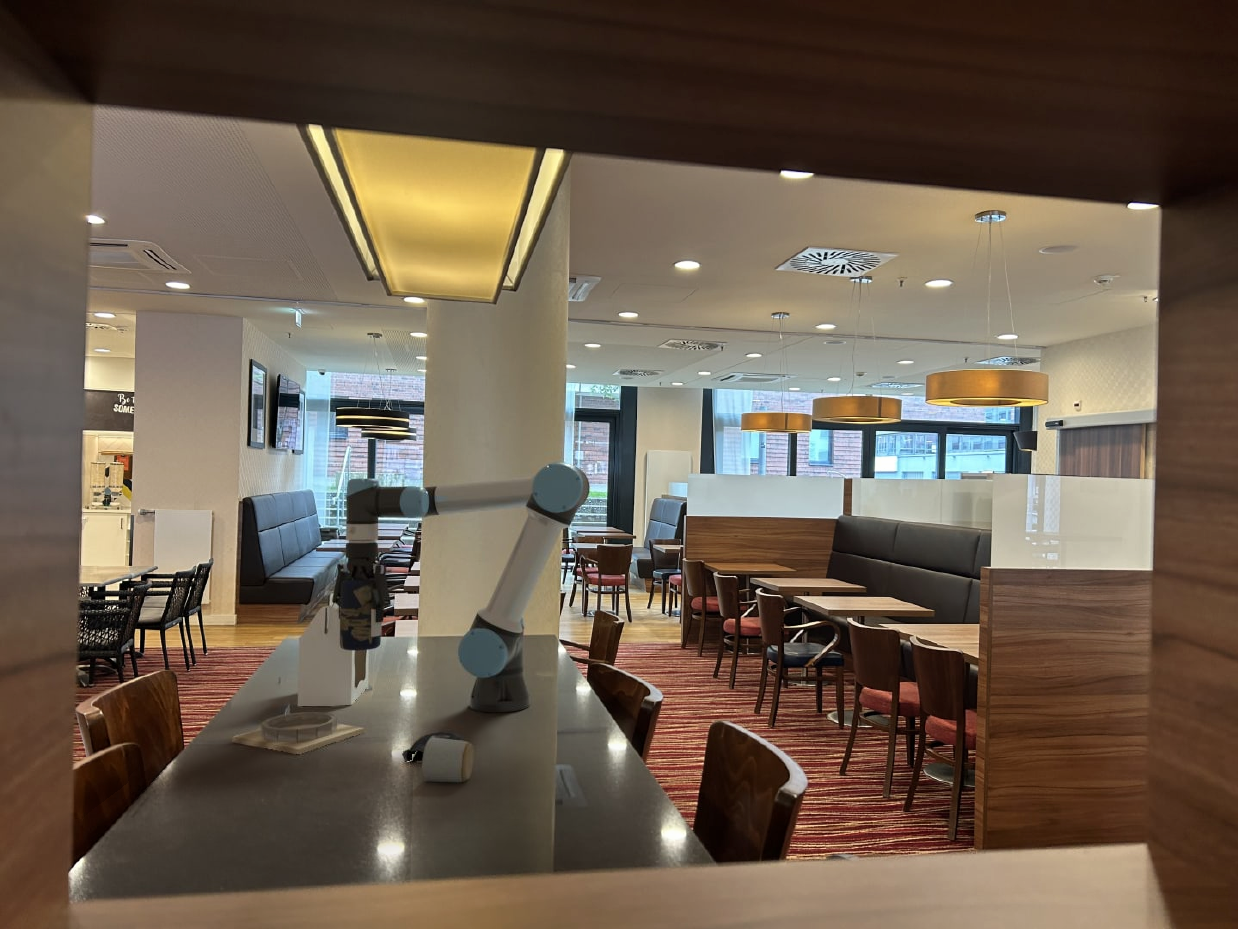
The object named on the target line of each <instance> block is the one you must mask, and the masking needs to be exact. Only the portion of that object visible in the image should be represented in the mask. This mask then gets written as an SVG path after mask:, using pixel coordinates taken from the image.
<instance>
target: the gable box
mask: <svg viewBox="0 0 1238 929" xmlns="http://www.w3.org/2000/svg"><path fill="white" fill-rule="evenodd" d="M333 593H334V591H333V592H330V593H329V594H328V596H327V605H324V606H322V607H321V608H319V610H318V611H317V612H316V614H315V615H314V617H313V618H312V620H311V621H310V623H309V624H308V626H307V627H306V628H305V630H304V631H303V633H302V634H301V636H299V638H298V664H297V665H298V666H297V668H298V671H297V672H298V674H297V675H298V676H297V677H298V678H297V707H298V706H331V707H336V706H335V705H351V706H353V704H354V703H355V702H356V701H357V700H358V699H359V698H358V697H360V696H362V694H363V693H364V692H366V690H367V689H368V688H369V658H370V656H369V654H370V650H359V651H358V650H356V651H353V650H344V649H342V648H341V647H340V619H339V606H338V605H337V604H336V603H333V602H332V598H333ZM338 598H339V597H338ZM355 687H356V689H355ZM367 687H368V688H367ZM366 688H367V689H366ZM365 689H366V690H365ZM361 693H362V694H361ZM356 699H357V700H356ZM355 700H356V701H355ZM333 705H334V706H333Z"/></svg>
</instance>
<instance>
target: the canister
mask: <svg viewBox="0 0 1238 929" xmlns="http://www.w3.org/2000/svg"><path fill="white" fill-rule="evenodd" d="M370 579H371V578H370ZM371 589H373V590H377V586H376V580H375V579H374V580H355V579H351V580H348V579H346V580H343V581H342V583H341V609H340V647H341V648H342V649H344V650H353V651H356V650H358V651H359V650H369V651H370V650H373V649H376V648H377V649H378V648H379V647H380V645H381V640H382V639H381V636H382V634H381V635H380V636H375V637H371V609H372V608H373V607H374V605H373V603H372V600H371Z"/></svg>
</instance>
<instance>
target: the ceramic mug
mask: <svg viewBox="0 0 1238 929" xmlns="http://www.w3.org/2000/svg"><path fill="white" fill-rule="evenodd" d="M421 761H422V763H421V773H422V779H423V780H424V781H425V782H434V783H435V782H437V783H440V782H441V783H442V782H443V783H464V782H467V781H468V780H469V779H470V778H471V775H472V773H473V772H472V771H473V767H474V764H475V763H474V761H475V749H474V746H473V744H472V743H471V742H469V741H464V740H463V741H461V740H451V739H443V738H435V737H431V738H430V739H429V740H428V742H427V744H426V746H425V750H424V752H422V760H421ZM466 780H467V781H466Z"/></svg>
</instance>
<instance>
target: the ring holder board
mask: <svg viewBox="0 0 1238 929" xmlns="http://www.w3.org/2000/svg"><path fill="white" fill-rule="evenodd" d="M260 724H261V727H260V728H257V729H255V730H251V731H248V732H244V733H240V734H237V735H233V736H232V743H234V742H235V744H238V745H239V744H241V745H245V746H251V747H257V748H262V749H265V748H268V749H267V750H270V749H273V750H272V751H276V750H277V751H276V752H281V751H283V752H282V753H286V752H287V754H291V753H292V754H291V755H296V754H300V755H303V754H306V753H309V752H312V751H314V750H313V749H315V748H318V749H321V748H323V747H322V746H324V747H326V746H325V745H327V744H330V743H333V742H336V743H339V742H342V741H345V740H347V739H346V738H348V739H350V738H349V737H351V736H354V737H357V736H360V735H362V733H363V734H364V732H365V727H360V726H354V725H348V724H342V723H338V717H337V716H336V715H334V713H333V714H332V713H328V712H322V711H302V712H293V713H284V714H281V715H280V714H279V715H277V716H273V717H270V718H269V717H268V718H267V719H265V720H264V721H263V722H261V723H260ZM359 734H360V735H359ZM356 735H357V736H356ZM351 738H352V737H351ZM344 739H345V740H344ZM341 740H342V741H341ZM333 744H334V743H333ZM330 745H331V744H330ZM327 746H328V745H327ZM320 747H321V748H320ZM311 750H312V751H311ZM315 750H316V749H315ZM308 751H309V752H308ZM305 752H306V753H305ZM302 753H303V754H302Z"/></svg>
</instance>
